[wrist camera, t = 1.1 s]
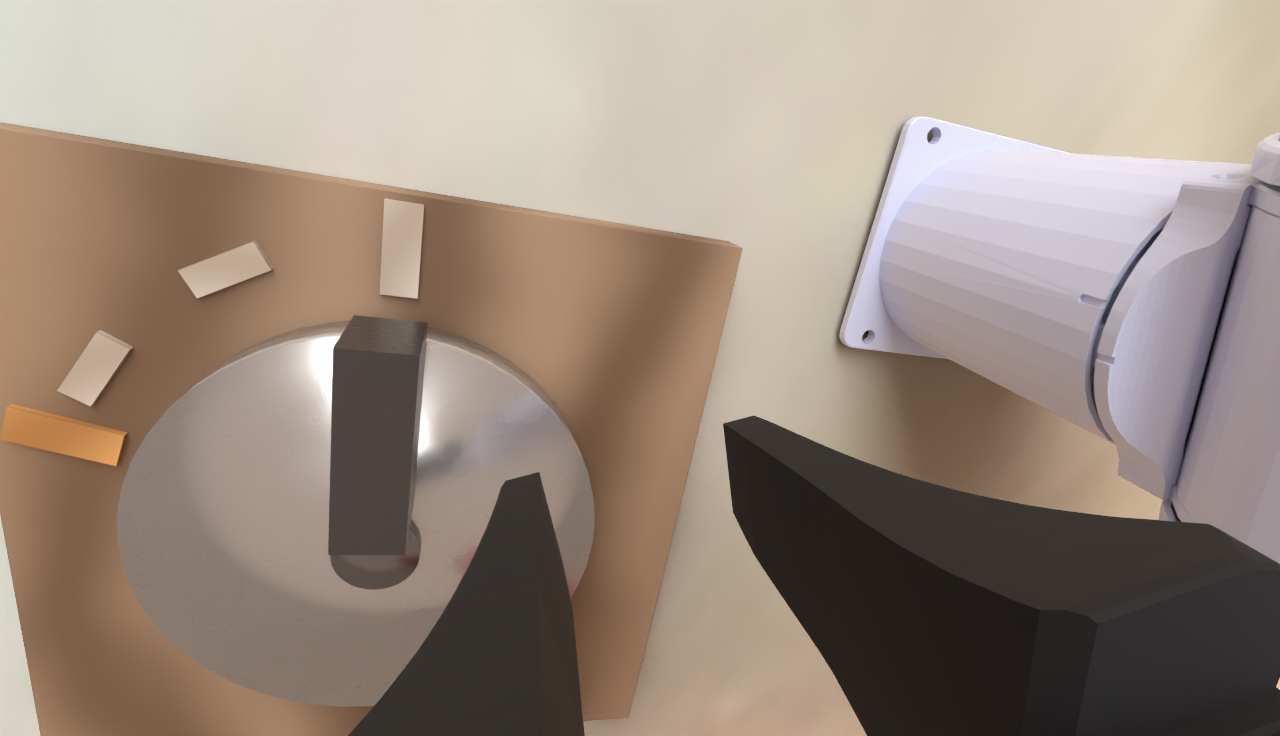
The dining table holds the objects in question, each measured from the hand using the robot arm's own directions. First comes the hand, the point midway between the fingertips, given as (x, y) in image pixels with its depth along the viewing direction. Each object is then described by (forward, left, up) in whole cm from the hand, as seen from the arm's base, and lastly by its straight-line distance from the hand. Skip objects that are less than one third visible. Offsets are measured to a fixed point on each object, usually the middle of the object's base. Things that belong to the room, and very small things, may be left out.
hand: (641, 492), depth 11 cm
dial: (+5, +6, -8) cm, 12 cm away
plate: (+5, +6, -10) cm, 13 cm away
